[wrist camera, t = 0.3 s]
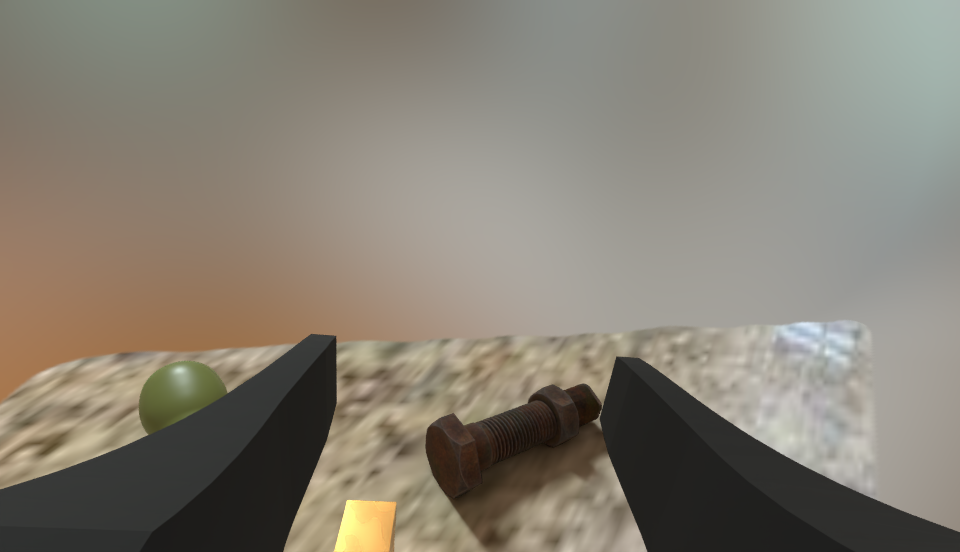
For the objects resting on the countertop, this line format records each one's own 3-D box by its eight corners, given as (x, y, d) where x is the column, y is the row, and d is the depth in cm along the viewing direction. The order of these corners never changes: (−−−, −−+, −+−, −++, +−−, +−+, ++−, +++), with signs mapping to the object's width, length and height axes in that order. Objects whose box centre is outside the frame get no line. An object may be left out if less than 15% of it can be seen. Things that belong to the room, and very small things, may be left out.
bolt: (586, 438, 42) (441, 505, 34) (559, 387, 45) (417, 439, 36) (626, 415, 38) (471, 485, 30) (594, 360, 40) (441, 412, 32)
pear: (212, 339, 38) (248, 433, 32) (218, 385, 40) (252, 479, 34) (126, 360, 34) (149, 469, 28) (139, 408, 37) (162, 516, 31)
